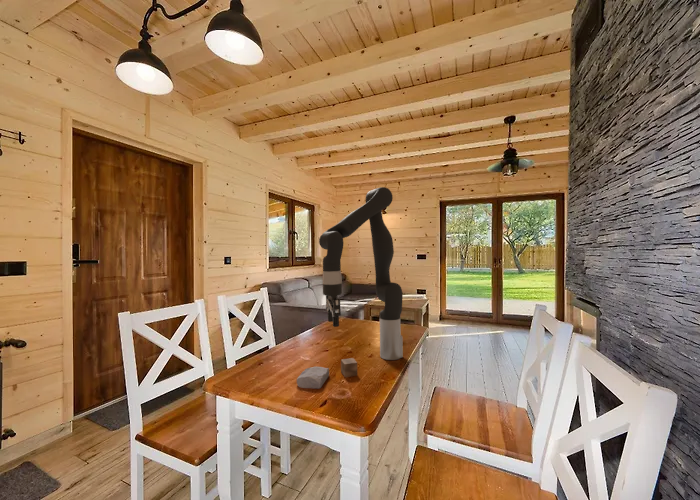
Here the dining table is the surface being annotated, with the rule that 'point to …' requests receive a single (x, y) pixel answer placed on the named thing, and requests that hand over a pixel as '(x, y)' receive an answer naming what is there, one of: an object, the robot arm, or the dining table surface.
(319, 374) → the stone block
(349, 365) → the walnut cube
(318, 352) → the dining table surface
